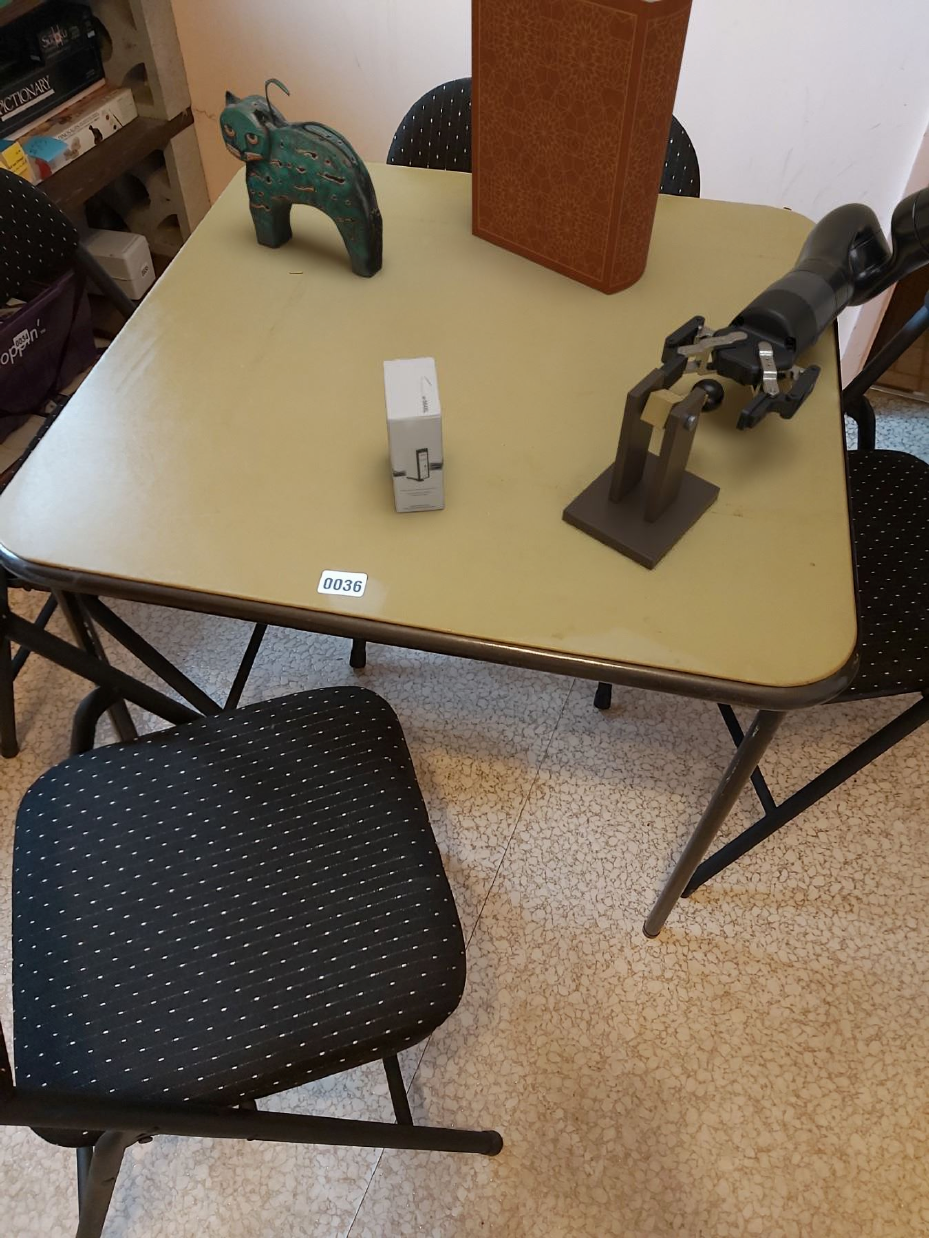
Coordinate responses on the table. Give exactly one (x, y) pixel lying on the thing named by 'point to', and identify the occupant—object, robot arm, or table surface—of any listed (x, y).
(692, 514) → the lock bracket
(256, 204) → the ceramic cat
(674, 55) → the book
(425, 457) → the ink box
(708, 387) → the lever
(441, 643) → the table surface
